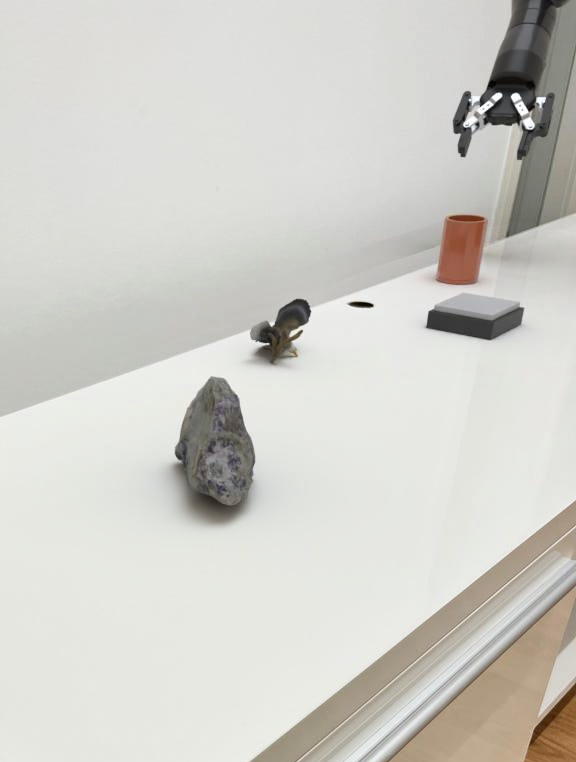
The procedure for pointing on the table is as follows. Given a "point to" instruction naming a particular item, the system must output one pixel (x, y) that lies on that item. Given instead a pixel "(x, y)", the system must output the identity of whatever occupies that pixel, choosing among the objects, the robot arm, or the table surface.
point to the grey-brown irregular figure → (283, 328)
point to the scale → (475, 315)
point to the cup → (461, 249)
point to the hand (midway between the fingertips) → (490, 155)
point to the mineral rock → (216, 444)
